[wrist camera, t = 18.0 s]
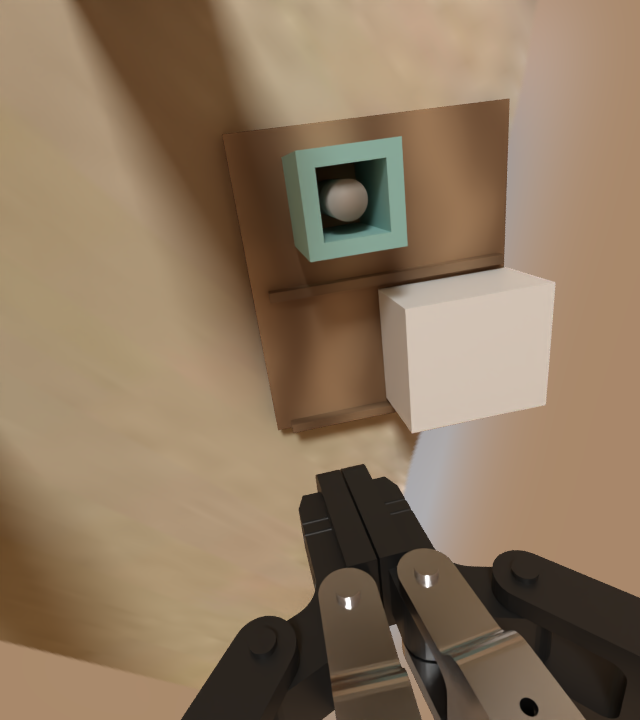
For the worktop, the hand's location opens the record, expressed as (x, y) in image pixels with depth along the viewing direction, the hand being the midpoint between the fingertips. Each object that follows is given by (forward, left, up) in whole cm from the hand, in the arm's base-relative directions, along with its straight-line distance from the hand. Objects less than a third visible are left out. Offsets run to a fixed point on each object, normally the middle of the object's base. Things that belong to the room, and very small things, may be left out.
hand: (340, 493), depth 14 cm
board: (+7, +2, -18) cm, 20 cm away
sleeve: (+4, +7, -17) cm, 19 cm away
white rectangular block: (+11, -3, -17) cm, 20 cm away
